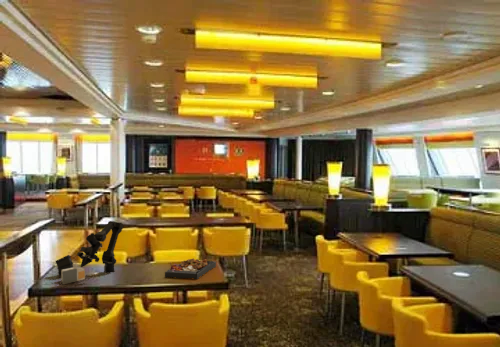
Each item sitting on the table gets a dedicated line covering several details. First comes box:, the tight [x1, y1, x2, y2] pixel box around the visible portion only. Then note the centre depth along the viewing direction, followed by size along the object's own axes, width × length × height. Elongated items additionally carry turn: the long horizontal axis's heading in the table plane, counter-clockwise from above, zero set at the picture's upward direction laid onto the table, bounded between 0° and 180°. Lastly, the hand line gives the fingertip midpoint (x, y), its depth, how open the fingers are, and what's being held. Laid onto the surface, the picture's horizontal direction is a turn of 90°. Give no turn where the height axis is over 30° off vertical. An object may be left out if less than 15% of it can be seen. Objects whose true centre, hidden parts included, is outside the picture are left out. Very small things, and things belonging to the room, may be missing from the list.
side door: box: [61, 263, 79, 285], centre depth 341 cm, size 11×3×12 cm, turn 146°
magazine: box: [55, 254, 74, 277], centre depth 364 cm, size 4×13×15 cm, turn 78°
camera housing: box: [61, 266, 86, 282], centre depth 350 cm, size 13×10×8 cm
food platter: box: [164, 258, 217, 280], centre depth 378 cm, size 45×25×10 cm, turn 167°
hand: (81, 266), depth 349 cm, fingers closed
